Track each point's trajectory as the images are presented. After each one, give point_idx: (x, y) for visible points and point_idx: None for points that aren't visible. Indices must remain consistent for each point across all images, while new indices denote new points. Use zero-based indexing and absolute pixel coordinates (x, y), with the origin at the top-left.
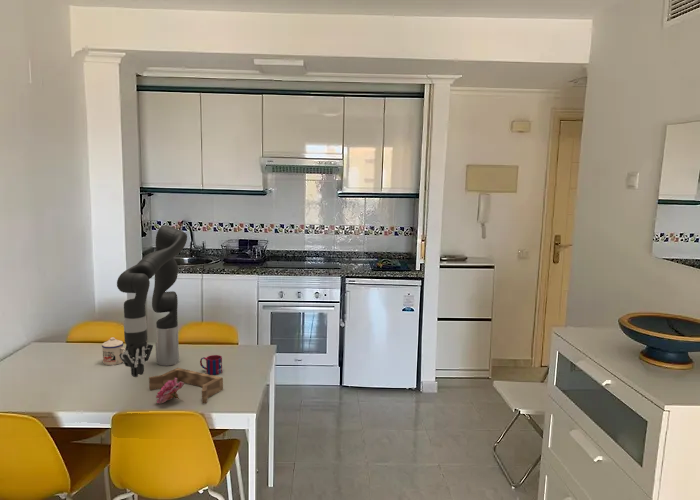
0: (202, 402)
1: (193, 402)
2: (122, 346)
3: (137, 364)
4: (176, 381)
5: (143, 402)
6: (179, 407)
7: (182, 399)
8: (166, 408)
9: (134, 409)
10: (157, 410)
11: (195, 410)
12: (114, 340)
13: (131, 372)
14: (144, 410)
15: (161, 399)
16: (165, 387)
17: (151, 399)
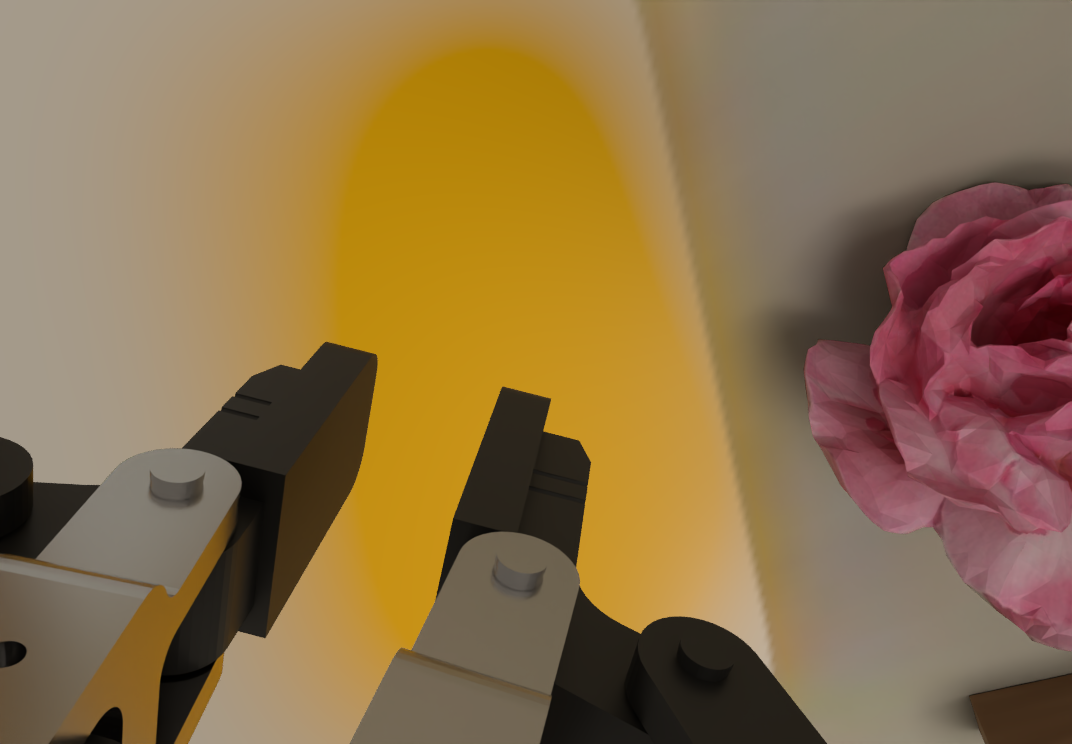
0: (974, 705)
1: (987, 608)
2: None
3: (450, 531)
4: None
5: (925, 6)
6: (832, 524)
7: None
8: (782, 402)
9: (680, 21)
10: (710, 330)
11: None
12: None
13: (231, 411)
14: (679, 175)
15: (822, 377)
16: (1063, 382)
17: (1045, 63)
